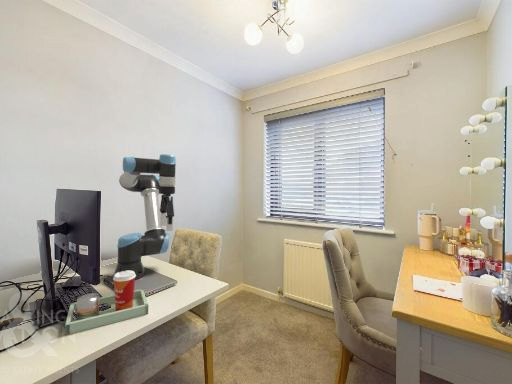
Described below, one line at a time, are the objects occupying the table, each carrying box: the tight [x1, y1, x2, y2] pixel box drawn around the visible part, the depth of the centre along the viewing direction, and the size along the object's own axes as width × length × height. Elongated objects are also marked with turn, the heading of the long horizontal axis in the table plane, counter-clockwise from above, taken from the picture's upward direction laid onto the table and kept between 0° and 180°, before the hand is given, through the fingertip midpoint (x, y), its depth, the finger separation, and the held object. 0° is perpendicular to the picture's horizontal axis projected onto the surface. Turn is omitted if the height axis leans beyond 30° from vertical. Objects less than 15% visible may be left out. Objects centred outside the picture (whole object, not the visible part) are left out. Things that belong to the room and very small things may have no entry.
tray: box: [64, 288, 149, 336], centre depth 93 cm, size 16×26×4 cm, turn 123°
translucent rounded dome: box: [76, 292, 100, 321], centre depth 89 cm, size 7×7×8 cm
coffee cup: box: [112, 270, 136, 311], centre depth 95 cm, size 8×8×15 cm
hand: (166, 228), depth 116 cm, fingers open, 13 cm apart
